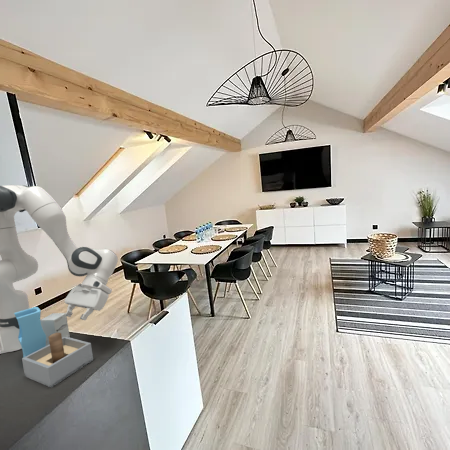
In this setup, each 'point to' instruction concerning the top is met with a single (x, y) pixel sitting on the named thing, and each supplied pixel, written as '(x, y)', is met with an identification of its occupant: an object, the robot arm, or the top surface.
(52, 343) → the peg
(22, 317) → the blue curved piece
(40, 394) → the top surface
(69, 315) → the robot arm
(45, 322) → the supplement box
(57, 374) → the bore box
